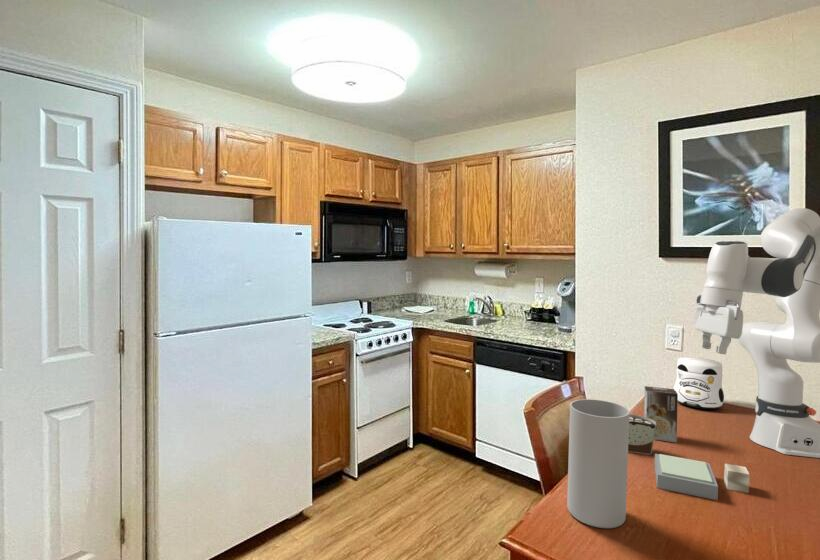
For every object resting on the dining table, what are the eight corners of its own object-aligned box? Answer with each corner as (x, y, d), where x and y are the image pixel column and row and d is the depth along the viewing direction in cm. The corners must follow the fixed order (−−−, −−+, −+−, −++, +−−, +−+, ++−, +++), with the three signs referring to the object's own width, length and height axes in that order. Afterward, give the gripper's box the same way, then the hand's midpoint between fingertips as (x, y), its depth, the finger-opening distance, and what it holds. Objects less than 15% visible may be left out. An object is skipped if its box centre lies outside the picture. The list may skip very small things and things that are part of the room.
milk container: (683, 410, 175) (685, 365, 174) (666, 397, 192) (667, 355, 191) (732, 413, 172) (734, 367, 171) (710, 399, 189) (712, 357, 188)
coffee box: (673, 435, 150) (675, 388, 149) (676, 443, 144) (678, 394, 143) (642, 431, 153) (644, 385, 152) (644, 438, 147) (646, 390, 146)
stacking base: (708, 475, 122) (709, 461, 122) (717, 500, 110) (718, 484, 109) (654, 465, 128) (655, 451, 128) (657, 487, 115) (657, 472, 115)
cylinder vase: (596, 535, 95) (600, 420, 94) (555, 505, 107) (558, 402, 105) (638, 522, 100) (642, 413, 99) (594, 495, 112) (598, 396, 110)
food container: (653, 447, 140) (654, 416, 140) (656, 455, 134) (658, 423, 134) (610, 441, 144) (611, 411, 144) (612, 449, 138) (613, 417, 138)
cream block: (744, 485, 117) (745, 466, 117) (748, 493, 113) (749, 474, 113) (723, 481, 119) (724, 463, 119) (727, 489, 115) (728, 470, 115)
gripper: (754, 303, 109) (745, 359, 109) (717, 300, 129) (710, 348, 129) (725, 299, 110) (716, 354, 110) (693, 297, 130) (686, 344, 130)
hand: (713, 351), depth 120 cm, fingers open, 8 cm apart
